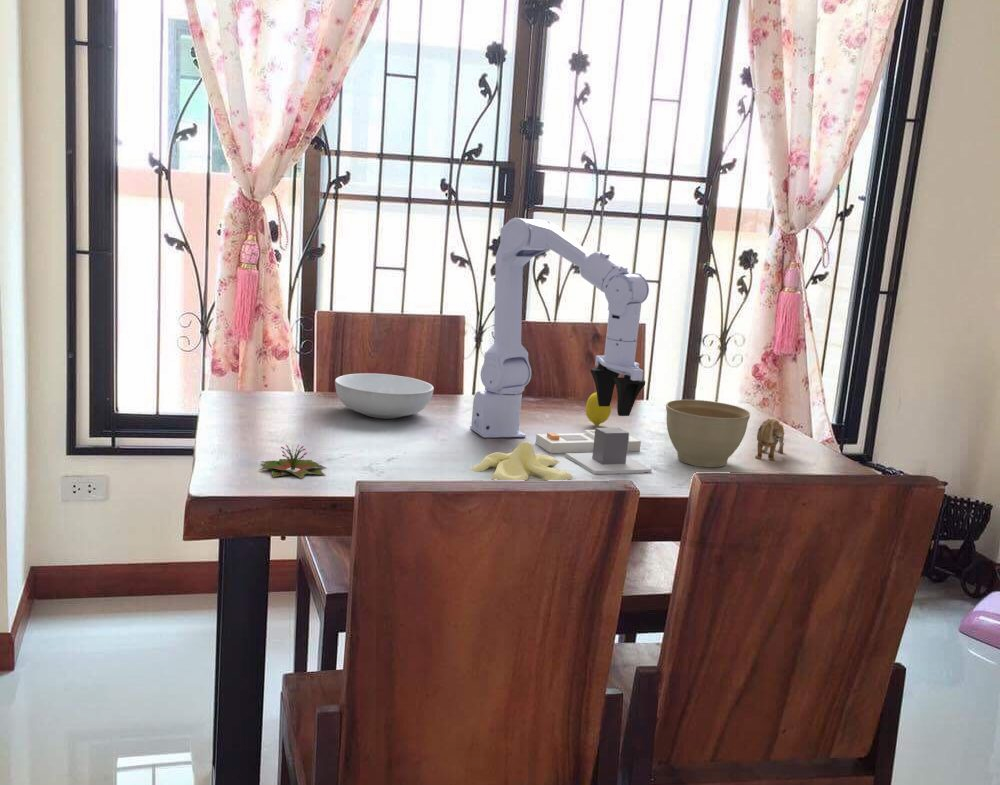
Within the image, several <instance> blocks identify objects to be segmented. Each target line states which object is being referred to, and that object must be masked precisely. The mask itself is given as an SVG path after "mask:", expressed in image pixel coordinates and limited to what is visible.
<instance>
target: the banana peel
mask: <svg viewBox="0 0 1000 785" xmlns="http://www.w3.org/2000/svg"><path fill="white" fill-rule="evenodd" d="M556 464H560V461H559V460H558V459H556V458H554V457H553V456H550V455H547V454H540V453H535V450H534V445H533V443H530V442H529V441H526V440H522V441H521V442H520V443H519V444H518V445H517V446H516V447H515V448H514V449H513V451H512V452H509V453H505V452H502V451H501V452H500V451H499V452H493V453H490V454H488V455H486V456H485V457H483V459H482V460H481V461H480V462H479V463H478V464H477V465H475V466H473V467H471V468H469V469H468V470H469V471H472V472H484V471H487V470H488V469H489V468H496V469H495V471H494V473H493V475H492V476H491V478H490V479H491V480H492V479H497V480H526V481H527V480H529V476H530V475H532V476H536V477H539V478H541V479H543V478H544V479H543V480H545V481H546V480H566V479H569V480H572V479H574V476H573V475H572V474H571V473H569V472H567V471H566V470H565V471H564V470H559V469H557V468H553V467H554V466H555V465H556ZM549 466H552V467H549ZM571 478H572V479H571Z"/></svg>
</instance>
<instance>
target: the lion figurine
mask: <svg viewBox="0 0 1000 785" xmlns="http://www.w3.org/2000/svg"><path fill="white" fill-rule="evenodd" d="M757 430H758V431H757V435H756V441H757V446H756V447H757V455H755V456H754V457H755V459H757V460H761V459H762V457H763V454H765V453H766V454H767V453H768V451H769V453H768V456H767V457H768V458H767V459H768V460H769V461H771V462H773V461H774V462H775V461H776V458H775V451H776V447H777V444H778V442H779V447H778V449H777V452H778V453H779V454H783V453H784V445H785V443H784V436H785V432H784V431H785V429H784V426H783V424H781V423H780V421H779V420H778V419H775V418H767V419H766V420H764V421H763V422H762V424H760V427H759V428H758V429H757Z"/></svg>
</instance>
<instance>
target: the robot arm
mask: <svg viewBox="0 0 1000 785" xmlns="http://www.w3.org/2000/svg"><path fill="white" fill-rule="evenodd" d="M499 240H500V241H499V245H498V248H497V251H496V255H495V278H494V284H495V285H494V330H493V333H494V336H493V344H492V345H491V346H490V347H489V349H488V350H486V352H485V353H484V359H483V364H482V366H481V369H480V381H481V383H482V385H483V386H484V390H479V391H477V392H475V394H474V397H473V402H472V415H471V425H470V426H469V428H470V430H472V431H474V433H476V434H478V435H479V436H480V437H482V438H487V439H489V438H526V436H527V434H525V433H524V432H522V431H521V430H520V420H521V419H520V418H521V408H522V396H523V392H524V391H525V388H526V386H527V385H528V384H530V381H531V378H532V367H531V364H530V362H529V351H527V349H526V348H525V347H524V346H523V344H522V324H523V323H522V320H523V319H522V317H523V281H524V280H523V279H524V278H523V276H524V275H523V274H524V270H523V269H524V266H525V265H526V264H527V263H529V261H531V259H533V258H534V257H536V256H538V255H540V254H542V253H545V252H547V251H548V250H550V251H553V252H554V253H556V254H557V255H558V256H561V257H562V258H563V259H565V260H567V261H568V262H570V263H571V264H573V265H575V266H576V267H577V268H579V273H580V277H581V278H583V279H584V280H586V281H587V282H588V283H589V284H590V285H592V286H594V287H595V288H596V289H598V291H601V292H603V293H604V295H605V299H606V300H607V303H608V305H607V311H608V316H607V317H608V318H607V329H606V337H605V344H604V353H603V355H595V364H594V366H595V367H596V368H595V367H594V368H593V367H592V368H590V373H591V375H592V378H593V381H594V386H595V389H596V390H595V391H596V392H597V399H598V405H599V406H610V403H611V404H612V399H613V395H614V389H615V388H616V393H617V394H616V395H617V397H616V398H617V404H616V405H617V406H616V407H617V408H616V409H617V410H616V411H617V416H620V417H629V416H630V415H631V413H632V410H633V407H634V404H635V402H636V400H637V397H638V395H639V394H640V392H641V390H642V389H643V388H644V387H645V386H646V380H644V379H643V377H644V370H643V369H642V368H640V363H639V362H636V354H637V352H636V351H637V344H638V336H639V326H640V318H641V312H642V311H641V310H642V304H643V303H644V302H645V301H646V300H647V298H648V296H649V292H650V288H649V283H648V280H647V279H646V278H645V276H643V275H642V274H641V273H637V272H633V273H630V272H629V271H628V267H626V266H625V265H619V264H618V263H617V262H615V261H613V260H612V259H611V258H610V253H607V252H606V251H593V252H590V251H588V250H587V249H586V248H585V247H583V246H582V245H581V244H579V243H578V242H577V241H576V240H574V239H573V238H572V237H570V235H568V234H567V233H565V232H564V231H563V230H562V229H561V228H560V226H559V225H558V224H557V225H556V224H555V223H552V222H551V221H550V220H548V219H545V218H544V219H543V218H541V219H530V218H521V217H513V218H511V219H509V220H508V221H507V222H505V224H504V225H503V226H502V227H501V228H500V238H499ZM620 375H621V376H623V377H619V376H620Z"/></svg>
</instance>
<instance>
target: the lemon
mask: <svg viewBox="0 0 1000 785" xmlns="http://www.w3.org/2000/svg"><path fill="white" fill-rule="evenodd" d="M611 413H612V402H611V403H610V406H599V405H598V399H597V391H596V392H593V393H592V394H590V395H589V397H588V399H587V401H586V405H585V415H586V417H587V418H586V419H588V420H589V422H592V423H593V425H594V426H595V427H598V426H600V424H603V423H605V422H606V421H607V420H608V419H609V417H610V415H611Z"/></svg>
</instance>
